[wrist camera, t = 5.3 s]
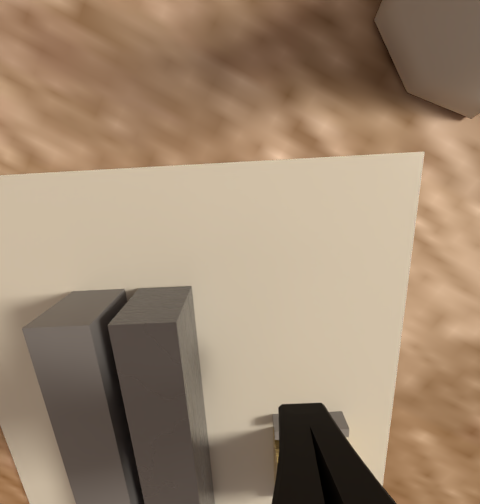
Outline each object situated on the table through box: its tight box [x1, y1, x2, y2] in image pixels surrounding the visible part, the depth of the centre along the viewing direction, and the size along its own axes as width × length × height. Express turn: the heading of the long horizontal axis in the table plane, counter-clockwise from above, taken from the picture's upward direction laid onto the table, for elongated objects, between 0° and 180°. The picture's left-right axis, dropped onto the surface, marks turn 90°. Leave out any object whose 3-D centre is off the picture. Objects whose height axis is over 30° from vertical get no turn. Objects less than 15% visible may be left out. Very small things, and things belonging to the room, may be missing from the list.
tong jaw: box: [108, 286, 215, 504], centre depth 13 cm, size 15×2×4 cm, turn 3°
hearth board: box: [0, 152, 424, 504], centre depth 13 cm, size 24×20×4 cm
